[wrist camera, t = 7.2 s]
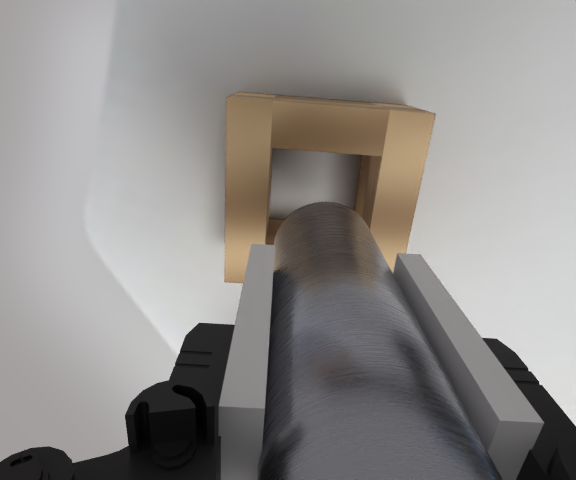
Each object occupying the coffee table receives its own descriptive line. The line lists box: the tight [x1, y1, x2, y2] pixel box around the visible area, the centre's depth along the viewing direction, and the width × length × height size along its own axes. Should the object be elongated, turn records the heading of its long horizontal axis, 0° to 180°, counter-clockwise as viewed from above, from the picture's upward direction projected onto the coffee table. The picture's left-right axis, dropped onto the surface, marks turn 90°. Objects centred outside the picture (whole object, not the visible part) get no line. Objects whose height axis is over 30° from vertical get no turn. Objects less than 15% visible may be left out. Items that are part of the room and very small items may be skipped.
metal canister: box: [257, 202, 503, 480], centre depth 9 cm, size 4×4×14 cm
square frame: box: [224, 92, 436, 283], centre depth 23 cm, size 10×10×5 cm
